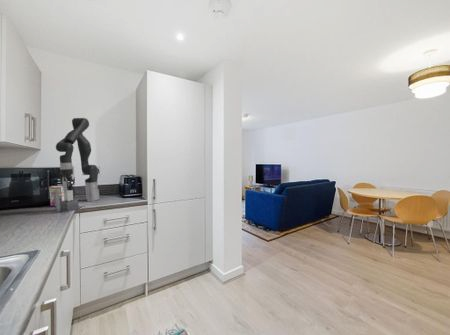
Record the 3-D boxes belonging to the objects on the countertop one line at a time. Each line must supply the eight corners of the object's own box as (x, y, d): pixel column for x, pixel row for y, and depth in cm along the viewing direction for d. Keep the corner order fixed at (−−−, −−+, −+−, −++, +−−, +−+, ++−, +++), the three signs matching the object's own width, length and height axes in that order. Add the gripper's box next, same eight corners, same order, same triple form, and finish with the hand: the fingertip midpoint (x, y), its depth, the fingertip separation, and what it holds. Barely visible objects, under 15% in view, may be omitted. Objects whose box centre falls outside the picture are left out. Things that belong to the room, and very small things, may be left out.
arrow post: (62, 210, 149) (60, 190, 148) (64, 211, 148) (62, 190, 147) (55, 212, 145) (53, 191, 144) (57, 212, 144) (55, 191, 143)
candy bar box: (49, 206, 163) (48, 187, 162) (55, 204, 168) (54, 185, 167) (62, 206, 162) (60, 187, 161) (67, 204, 167) (66, 186, 166)
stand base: (73, 206, 162) (72, 198, 161) (84, 207, 157) (84, 199, 157) (53, 211, 149) (52, 202, 148) (65, 212, 144) (64, 203, 143)
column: (70, 199, 155) (69, 179, 154) (74, 199, 154) (72, 180, 153) (63, 201, 151) (61, 180, 149) (67, 201, 149) (65, 181, 148)
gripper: (77, 168, 151) (79, 189, 153) (65, 168, 156) (67, 188, 158) (67, 169, 144) (69, 191, 146) (54, 168, 149) (56, 190, 151)
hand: (68, 189), depth 152 cm, fingers open, 5 cm apart
